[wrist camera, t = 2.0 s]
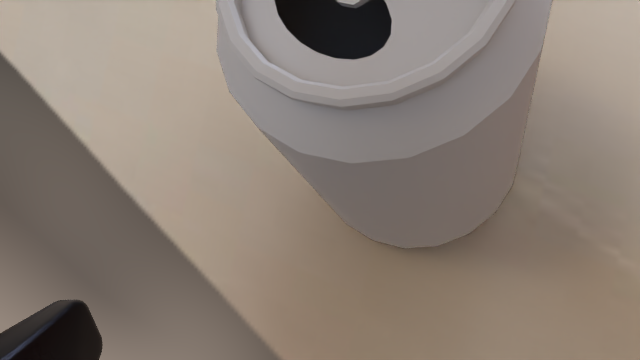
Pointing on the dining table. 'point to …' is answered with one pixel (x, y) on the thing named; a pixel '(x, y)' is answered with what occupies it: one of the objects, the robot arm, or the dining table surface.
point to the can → (391, 103)
